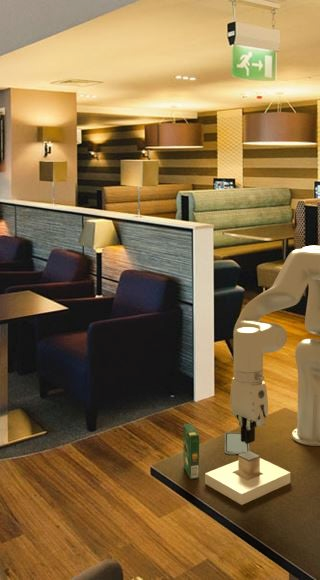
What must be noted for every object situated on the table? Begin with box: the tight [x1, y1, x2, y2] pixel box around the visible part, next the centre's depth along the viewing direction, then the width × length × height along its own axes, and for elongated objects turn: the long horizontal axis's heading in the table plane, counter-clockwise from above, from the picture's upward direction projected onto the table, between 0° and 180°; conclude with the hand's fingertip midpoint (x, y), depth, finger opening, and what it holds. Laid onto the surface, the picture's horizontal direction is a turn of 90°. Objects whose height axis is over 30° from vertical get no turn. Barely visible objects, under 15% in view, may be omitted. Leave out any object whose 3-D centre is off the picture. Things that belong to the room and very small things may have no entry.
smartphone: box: [224, 432, 250, 455], centre depth 192 cm, size 7×1×15 cm
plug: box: [237, 450, 261, 481], centre depth 167 cm, size 4×4×8 cm
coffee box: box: [182, 423, 200, 480], centre depth 173 cm, size 8×3×13 cm, turn 11°
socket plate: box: [204, 457, 291, 506], centre depth 168 cm, size 18×14×3 cm
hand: (247, 441), depth 166 cm, fingers closed
